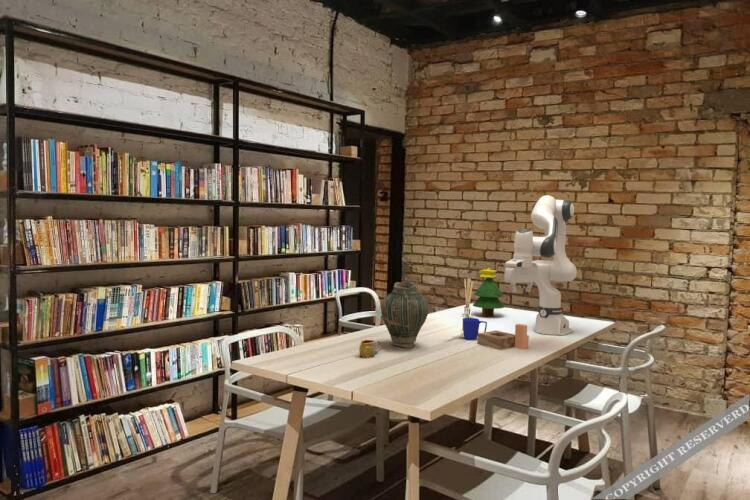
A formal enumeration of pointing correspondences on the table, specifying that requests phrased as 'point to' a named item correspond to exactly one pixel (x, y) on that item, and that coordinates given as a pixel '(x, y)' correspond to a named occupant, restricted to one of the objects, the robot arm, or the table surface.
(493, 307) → the decorative tree
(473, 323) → the mug
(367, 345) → the mug
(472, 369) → the table surface
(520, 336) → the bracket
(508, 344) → the wooden tray
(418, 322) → the vase
